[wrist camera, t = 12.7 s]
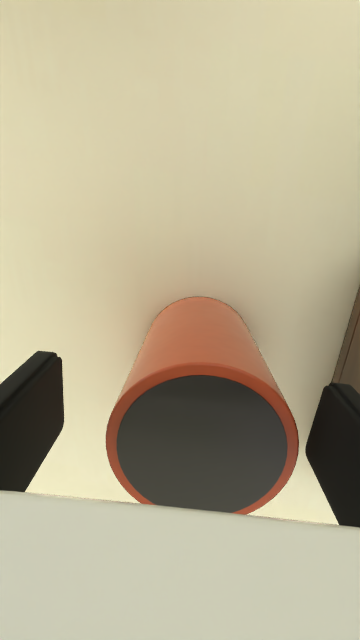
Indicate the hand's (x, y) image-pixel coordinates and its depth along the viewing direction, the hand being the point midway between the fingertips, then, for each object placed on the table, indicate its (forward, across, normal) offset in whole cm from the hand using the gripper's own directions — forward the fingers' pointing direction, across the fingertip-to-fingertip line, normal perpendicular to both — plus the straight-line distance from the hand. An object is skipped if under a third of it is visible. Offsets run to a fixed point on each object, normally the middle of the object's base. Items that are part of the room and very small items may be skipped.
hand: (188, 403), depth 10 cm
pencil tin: (+8, -1, +1) cm, 8 cm away
